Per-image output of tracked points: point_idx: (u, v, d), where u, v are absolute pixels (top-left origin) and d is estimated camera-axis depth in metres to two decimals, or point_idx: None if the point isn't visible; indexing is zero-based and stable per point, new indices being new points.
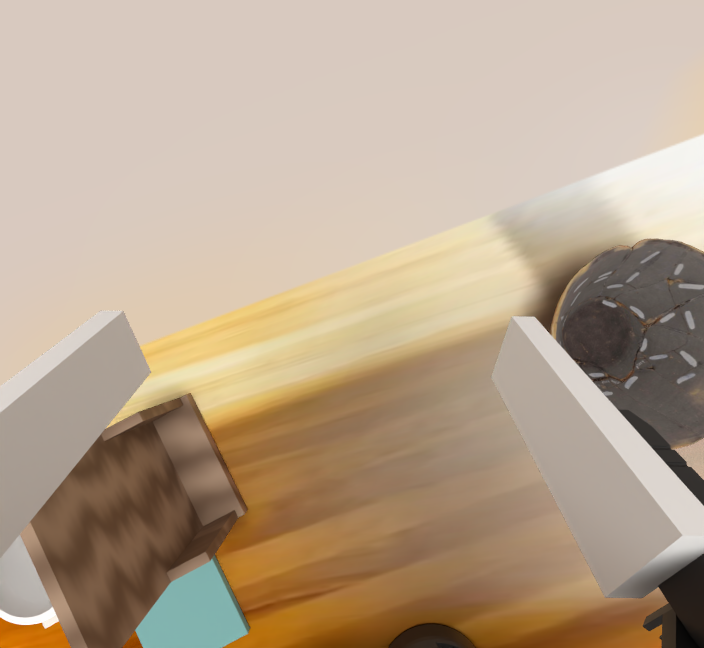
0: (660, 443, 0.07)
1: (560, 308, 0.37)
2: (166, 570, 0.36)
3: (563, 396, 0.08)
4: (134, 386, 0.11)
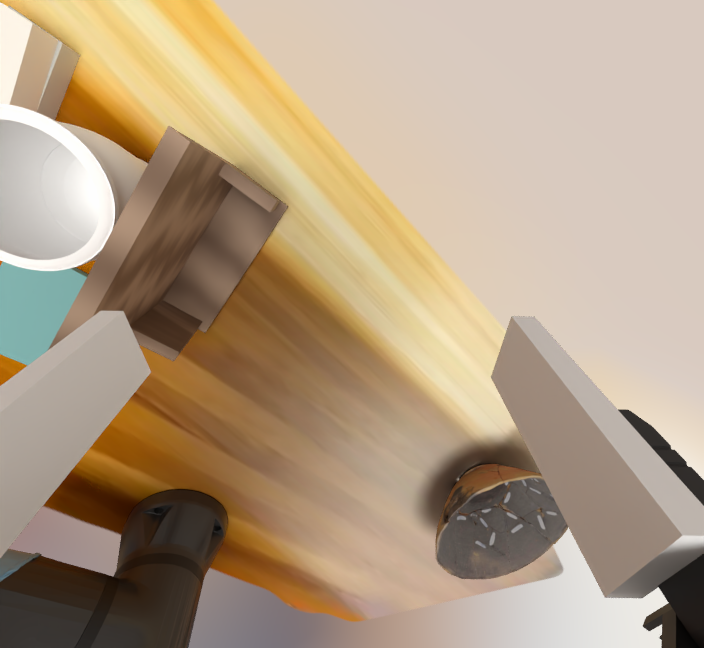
0: (660, 443, 0.07)
1: (515, 480, 0.48)
2: None
3: (563, 396, 0.08)
4: (134, 386, 0.11)
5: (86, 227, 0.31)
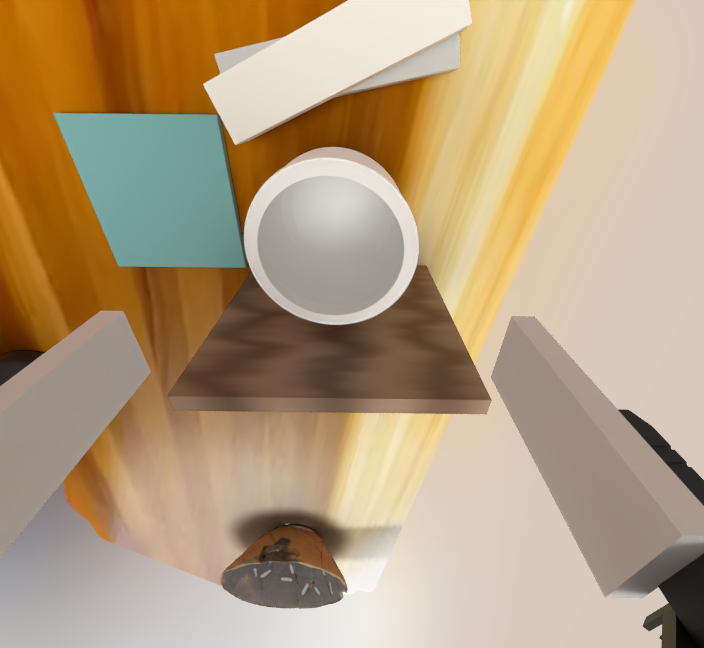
0: (660, 443, 0.07)
1: (328, 573, 0.57)
2: None
3: (563, 396, 0.08)
4: (134, 386, 0.11)
5: (292, 201, 0.28)
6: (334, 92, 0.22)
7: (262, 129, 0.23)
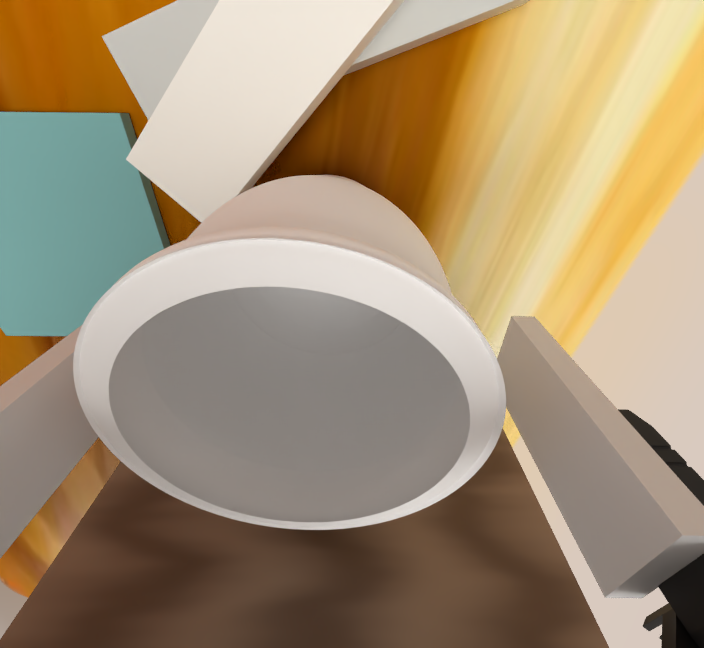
0: (660, 443, 0.07)
1: None
2: None
3: (563, 396, 0.08)
4: None
5: None
6: (334, 69, 0.11)
7: (239, 188, 0.14)
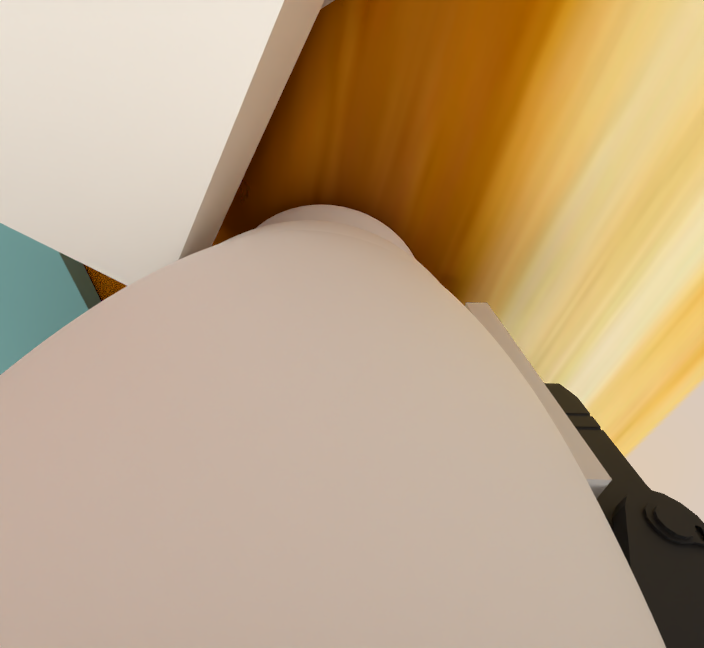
0: (581, 411, 0.08)
1: None
2: None
3: None
4: None
5: None
6: None
7: (188, 224, 0.07)
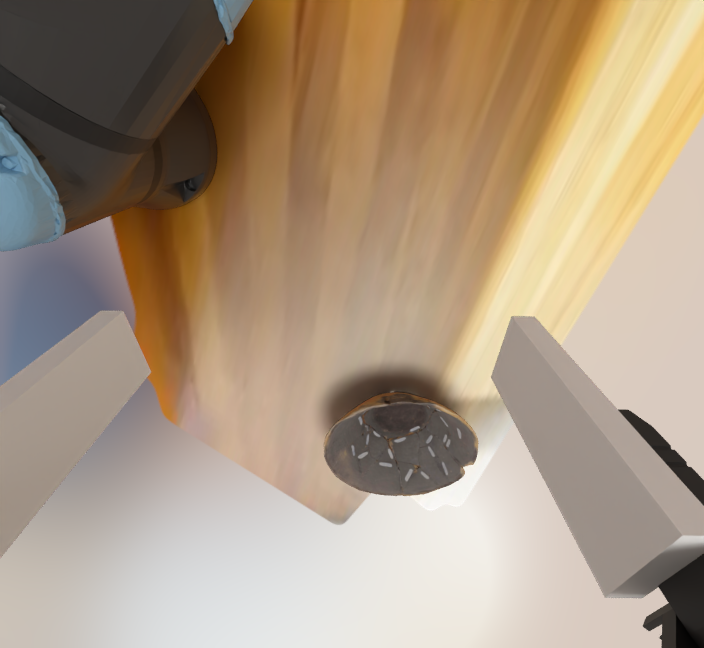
0: (660, 443, 0.07)
1: (465, 424, 0.46)
2: None
3: (563, 396, 0.08)
4: (134, 387, 0.11)
5: None
6: None
7: None
